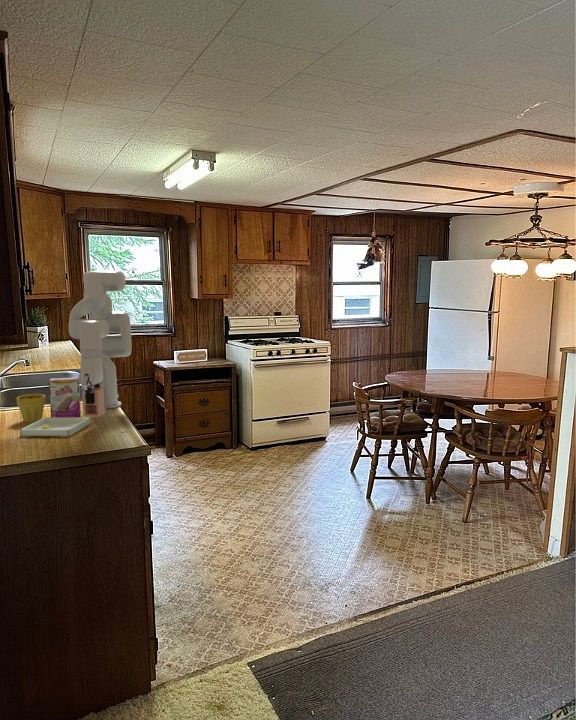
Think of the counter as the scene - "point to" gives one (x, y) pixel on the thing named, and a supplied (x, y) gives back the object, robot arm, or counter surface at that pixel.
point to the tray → (56, 427)
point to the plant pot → (31, 407)
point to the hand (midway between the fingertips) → (94, 401)
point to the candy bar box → (65, 397)
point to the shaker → (98, 406)
